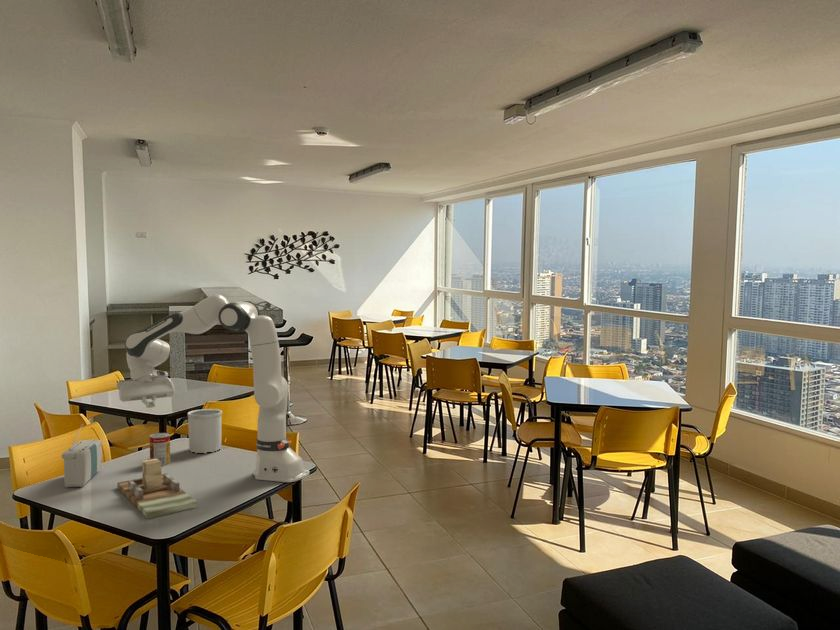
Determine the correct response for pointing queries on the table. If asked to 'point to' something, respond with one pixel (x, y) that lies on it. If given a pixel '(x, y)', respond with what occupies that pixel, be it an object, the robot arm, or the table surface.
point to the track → (157, 497)
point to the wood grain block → (152, 476)
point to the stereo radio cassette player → (82, 462)
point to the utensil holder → (205, 430)
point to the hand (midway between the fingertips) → (151, 406)
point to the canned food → (160, 447)
